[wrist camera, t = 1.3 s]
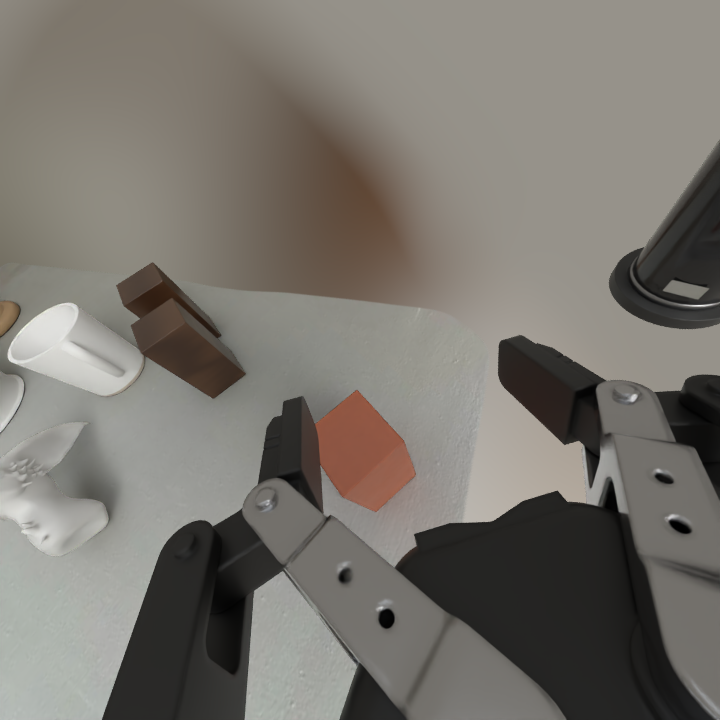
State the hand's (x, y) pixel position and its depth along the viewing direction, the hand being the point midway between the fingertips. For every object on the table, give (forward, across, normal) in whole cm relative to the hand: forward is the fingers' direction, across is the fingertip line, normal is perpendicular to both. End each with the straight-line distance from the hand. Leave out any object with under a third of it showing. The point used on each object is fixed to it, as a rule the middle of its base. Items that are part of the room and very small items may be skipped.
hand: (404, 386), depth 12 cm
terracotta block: (+10, +2, +16) cm, 19 cm away
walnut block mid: (+27, +18, +10) cm, 34 cm away
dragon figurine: (+18, +35, +17) cm, 43 cm away
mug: (+33, +34, +9) cm, 48 cm away
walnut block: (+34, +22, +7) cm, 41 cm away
